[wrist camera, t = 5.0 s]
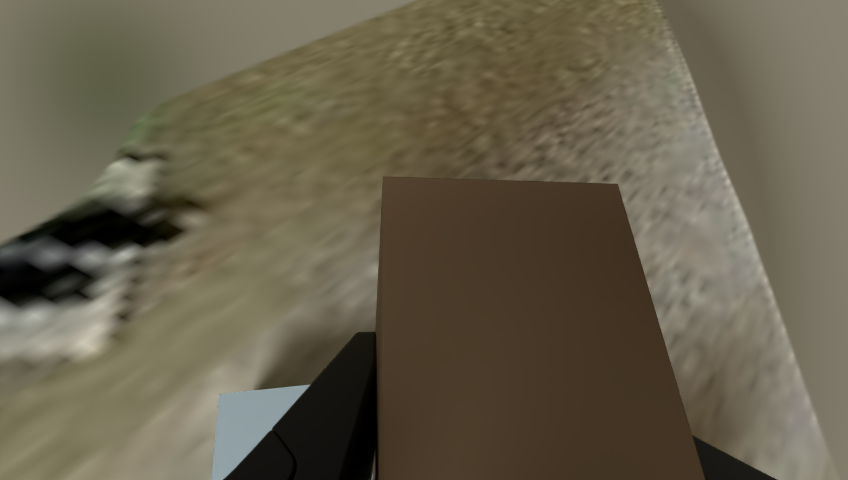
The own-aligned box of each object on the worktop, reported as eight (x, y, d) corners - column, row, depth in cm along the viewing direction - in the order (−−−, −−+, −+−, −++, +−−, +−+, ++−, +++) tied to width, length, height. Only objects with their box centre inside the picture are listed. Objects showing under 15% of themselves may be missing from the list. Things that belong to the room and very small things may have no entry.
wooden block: (449, 491, 13) (770, 704, 3) (372, 497, 13) (383, 762, 2) (441, 365, 15) (618, 184, 4) (373, 367, 15) (382, 176, 4)
